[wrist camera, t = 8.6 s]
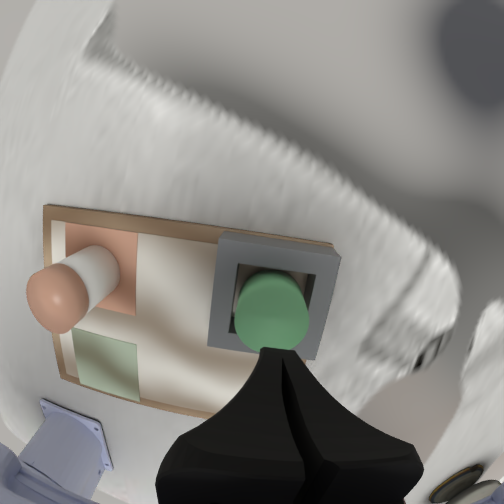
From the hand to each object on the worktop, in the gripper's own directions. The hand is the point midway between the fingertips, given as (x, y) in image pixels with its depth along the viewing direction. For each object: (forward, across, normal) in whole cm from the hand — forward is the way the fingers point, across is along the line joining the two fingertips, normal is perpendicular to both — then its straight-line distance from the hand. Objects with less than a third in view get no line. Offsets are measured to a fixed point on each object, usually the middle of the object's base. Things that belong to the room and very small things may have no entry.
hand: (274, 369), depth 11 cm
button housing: (+9, 0, 0) cm, 9 cm away
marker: (+8, +12, 0) cm, 15 cm away
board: (+9, +7, +4) cm, 12 cm away
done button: (+7, 0, 0) cm, 7 cm away
